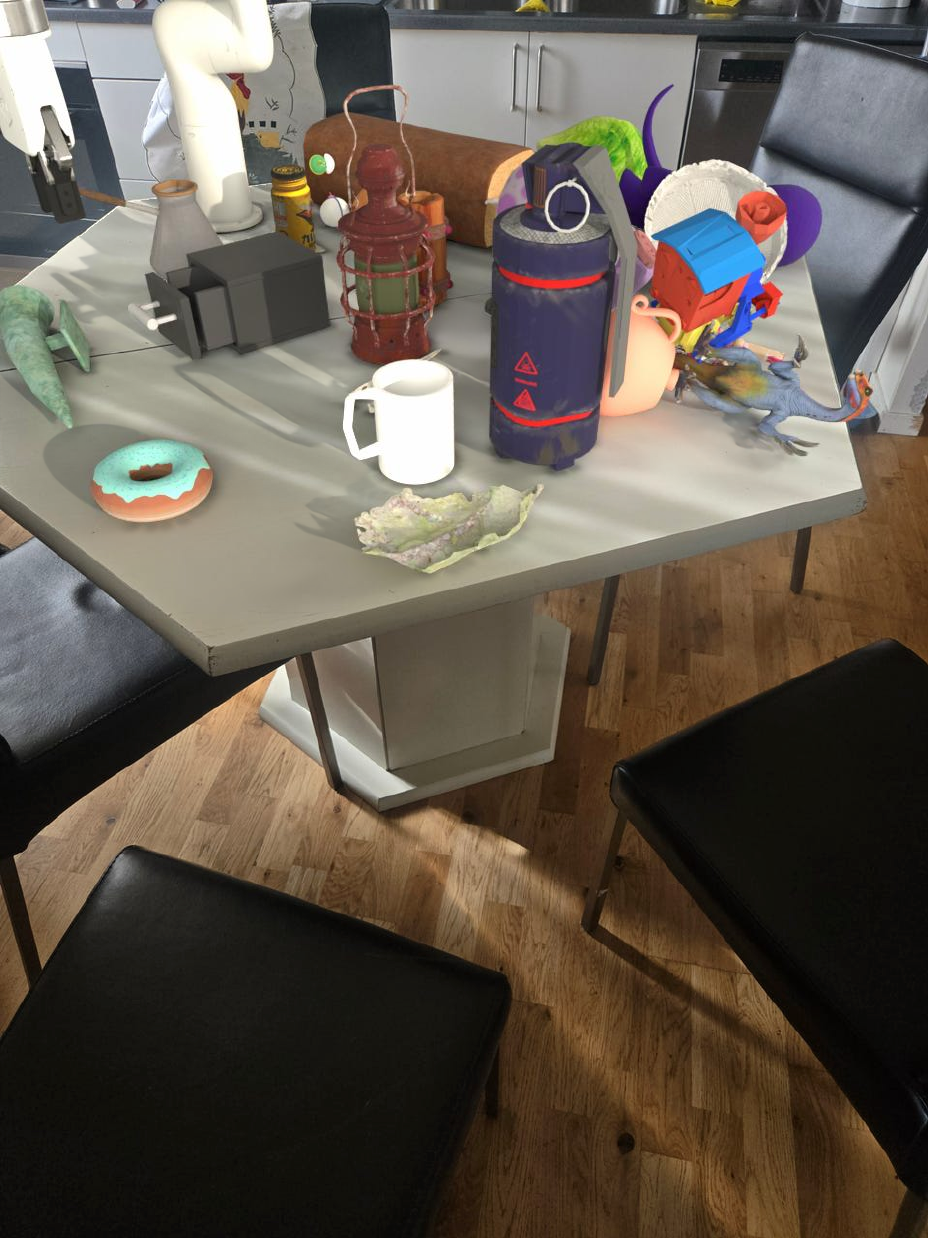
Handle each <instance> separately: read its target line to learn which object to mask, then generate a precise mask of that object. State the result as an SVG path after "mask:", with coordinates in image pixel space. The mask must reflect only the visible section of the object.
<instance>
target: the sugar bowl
mask: <svg viewBox="0 0 928 1238" xmlns="http://www.w3.org/2000/svg"><path fill="white" fill-rule="evenodd" d="M638 302H642V303H643V304H642V306H638V305H636V304H637V303H638ZM649 303H650V302H649V299H648V297H647V296H645V295H644V294H642V293H641V294H634V295H633V297H632V307H631V317H630V326H629V336H628V346H627V356H626V366H625V376H624V383H623V384H622V386H621V388H620V390H619V391H618V393H617V394H616V395H615V397H614V398H611V397H609V386H610V375H611V364H612V353H613V342H614V331H615V320H616V309H614V310H612V311H611V319H610V328H609V337H608V346H607V355H606V364H605V372H604V381H603V390H602V399H601V401H600V414H599V416H601V417H624V416H629V415H633V414H637V413H641V412H644V411H648V410H651V409H652V408H654V407H656V406H657V404H658V403H659V401H660V399H661V398H662V395H663V393H664V391H665V389H667V390H668V391H670V392H672V391H673V390H675V385H676V383H677V380H678V377H679V373H680V371H679V370H677V369H672V366H673V363H674V358H675V352H676V348H675V346H674V344H673V342H674V341H675V340H676V339H677V337H678V336H679V334H680V331H681V320H680V317H679V315H678V314H677V313H676V312H675V311H673V310H670V309H666V308H651V307H649ZM650 316H659V317H666V318H669V319H672V320H673V321H674V323H675V327H674V330H673V332H672V333H671V335H670V336H668V335H667V334H666V333H665V331H664V330H663V329H662V328H661V327H660V325H659V324H658V323H657V322H656V321H655V320H654V319H653V318H651V317H650Z"/></svg>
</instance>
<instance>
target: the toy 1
mask: <svg viewBox="0 0 928 1238" xmlns="http://www.w3.org/2000/svg"><path fill="white" fill-rule="evenodd" d="M309 165H310V168H311V170H312V171H313V172H314V173H315V174H318V175H320V174H323V173H324V172H325V171H326V173H327V174H330V173H331V172H332V171H333V170H334V167H335V163H334V160H333V158H332V157H331V156H330V155H329V154H324V158H323V157H322V156H320V155H314V156H312V157H311V159H310V162H309ZM329 193H331V192H329ZM347 213H350V211H349V207H348V205H347V203H346V202H345V201H344V200H343V199H341V198H337V197H335V196H333V195H332V194H330V196H329V197H328V198H327V200H326V201H325V202H324V203H323V204H322V206H320V207H319V210H318V216H319V219H320V220H321V222H322V223H323V224H324V225H325V226H329V227H331V228H335V229H336V230H338V231H339V228H338V221H339V219H340V218H341V217H342V216H344V215H345V214H347ZM339 233H341V232H340V231H339Z"/></svg>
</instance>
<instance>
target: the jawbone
mask: <svg viewBox="0 0 928 1238" xmlns="http://www.w3.org/2000/svg"><path fill="white" fill-rule="evenodd" d="M441 351H442V349H441V348H438V349H436V350H434V351H433V352H431V353H429V354H426V355H424V356H423V357H421V358H419V360H428V361H431V360H432V359H433V358H434V357H435V356H436V355H437V354H438V353H440V352H441ZM364 387H366V388H364ZM372 387H373V384H372V378H371V379H370V380H368V381H367V382H365V383H363V384H362V385H360V386H358V387H357V388H356V389H353V390H352V391H351V392H349V393H348V395H347V397H348V396H349V395H350V394H351V393H353V392H357V391H361V390H365V389H368V388H372ZM363 388H364V389H363ZM357 400H358V399H354V404H355V403H356V401H357ZM367 406H368V412H369V413H370V414H375V409H374V402H371V403H370V402H369V403H367Z"/></svg>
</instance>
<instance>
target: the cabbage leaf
mask: <svg viewBox="0 0 928 1238" xmlns="http://www.w3.org/2000/svg"><path fill="white" fill-rule="evenodd" d="M544 488H545V485H544V484H543V483H541V482H540V483H537V485H534V486H531V487H528V488H527V489H526V490H523V491H519V490H517V489H515V488H511V487H510V486H506V485H505V484H502V485H499V486H494V485H491V486H489V491H484V492H481V493H478V492H477V491H476V492H475V491H474V492H473V493H472V494H471V500H470V501H469V500H468V499H467V497H466V496H465V495H464V493H462V492H454V493H453V492H452V494H448V495H447V496H444V497H438V498H435V499H433V498H431V497H425V498H422V497H421V496H419V495H418V494H414V493H413V490H412V488H410V487H404V488H403V489H402V491H401V492H400V493H397V494H393V495H391V496H390V497H389V499H387V500H386V502H385V503H384V504H383V505H382V506H375V507H372V508H371V509H370V511H369V513H368V511H362V512H361V513H360V516H357V517H355V518H354V523H355V526H356V527H357V528H356V531H357V536H358V539H359V542H361V543H362V544H363V545H365V547H361V552H362V554H367V555H373V556H380V557H383V558H388V559H390V560H392V561H395V562H397V563H398V564H401V565H403V566H405V567H408V568H410V569H411V570H413V571H414V570H415V571H418V572H421V571H422V572H423V573H426V574H433V573H435V572H436V571H438V570H441V569H443V568H446V567H448V566H452V565H453V564H455V563H456V562H458V561H460V560H461V559H463V558H465V557H466V556H467V555H469V554H472V553H474V552H476V551H479V550H482V549H483V548H487V547H488V546H492V545H495V544H496V543H497V544H498V543H500V542H502V541H504V540H505V541H506V540H507V539H509V538H510V537H511V536H512V535H515V534H516V533H517V532H518V531H519V530H520V529H521V528H522V525H523V523H524V522H525V521H526V519H527V517H528V515H529V514H530V513H531V511H532V508H533V504H534V502H535V500H537V497H539V495H540V494H541V492H542V491H543V490H544ZM358 527H361V528H364V529H365V531H361V530H360V528H358Z"/></svg>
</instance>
